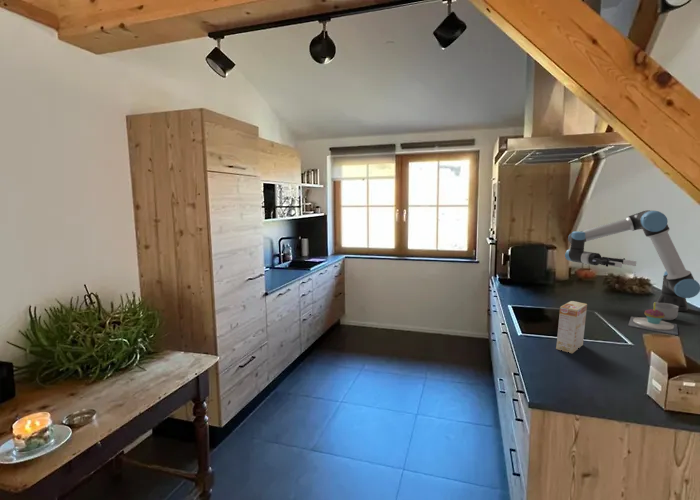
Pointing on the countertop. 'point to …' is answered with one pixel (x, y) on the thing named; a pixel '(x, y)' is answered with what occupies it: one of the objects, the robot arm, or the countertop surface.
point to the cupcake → (654, 315)
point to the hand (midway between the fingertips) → (628, 264)
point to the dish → (653, 325)
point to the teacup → (667, 310)
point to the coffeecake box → (571, 326)
